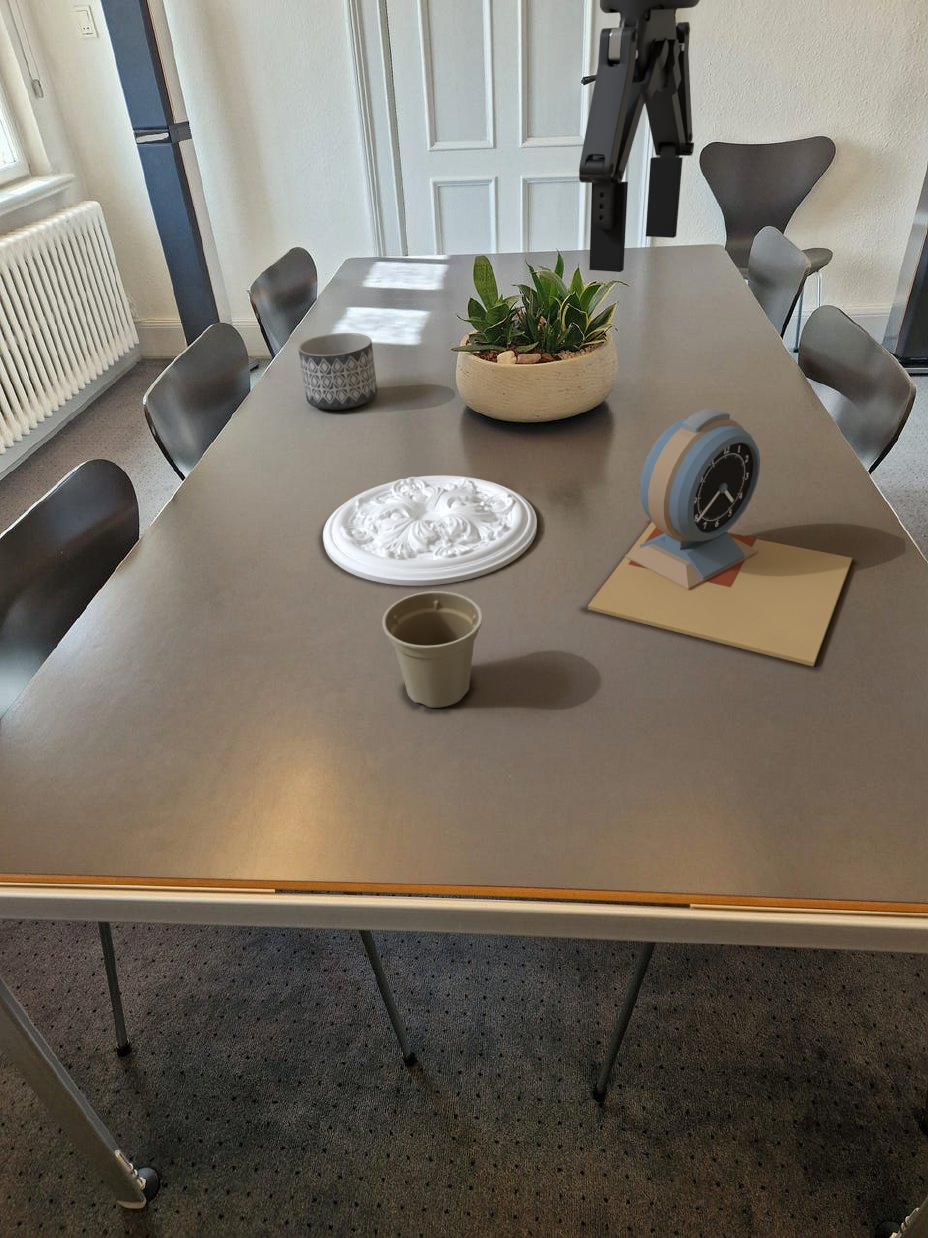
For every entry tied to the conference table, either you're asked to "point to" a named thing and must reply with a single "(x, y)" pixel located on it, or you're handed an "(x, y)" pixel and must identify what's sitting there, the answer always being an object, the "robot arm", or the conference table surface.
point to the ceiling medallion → (430, 530)
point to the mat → (737, 599)
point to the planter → (338, 370)
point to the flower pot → (434, 644)
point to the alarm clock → (697, 497)
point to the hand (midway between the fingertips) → (635, 252)
